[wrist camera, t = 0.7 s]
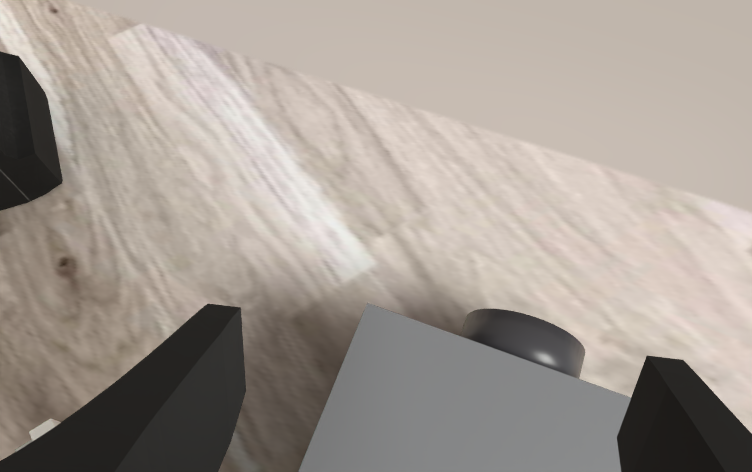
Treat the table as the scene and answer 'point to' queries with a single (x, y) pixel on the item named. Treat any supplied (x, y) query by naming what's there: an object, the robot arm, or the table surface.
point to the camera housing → (465, 400)
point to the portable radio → (24, 136)
